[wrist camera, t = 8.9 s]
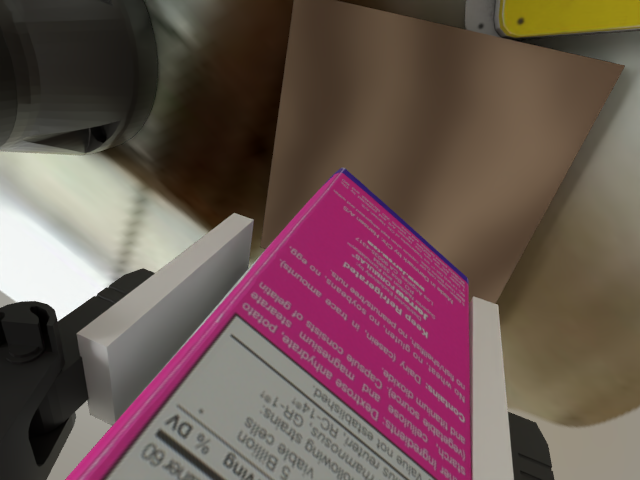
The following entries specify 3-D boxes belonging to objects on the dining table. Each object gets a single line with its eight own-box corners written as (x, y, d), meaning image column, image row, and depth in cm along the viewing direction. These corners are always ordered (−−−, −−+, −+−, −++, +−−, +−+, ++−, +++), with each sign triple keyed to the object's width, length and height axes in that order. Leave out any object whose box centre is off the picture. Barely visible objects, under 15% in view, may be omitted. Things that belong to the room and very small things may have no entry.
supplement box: (365, 360, 16) (208, 837, 7) (254, 264, 16) (-81, 620, 6) (479, 281, 13) (492, 968, 4) (344, 159, 13) (-50, 547, 3)
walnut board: (269, 238, 30) (260, 247, 29) (305, -7, 22) (295, -9, 21) (482, 313, 27) (482, 327, 26) (614, 63, 19) (624, 65, 18)
